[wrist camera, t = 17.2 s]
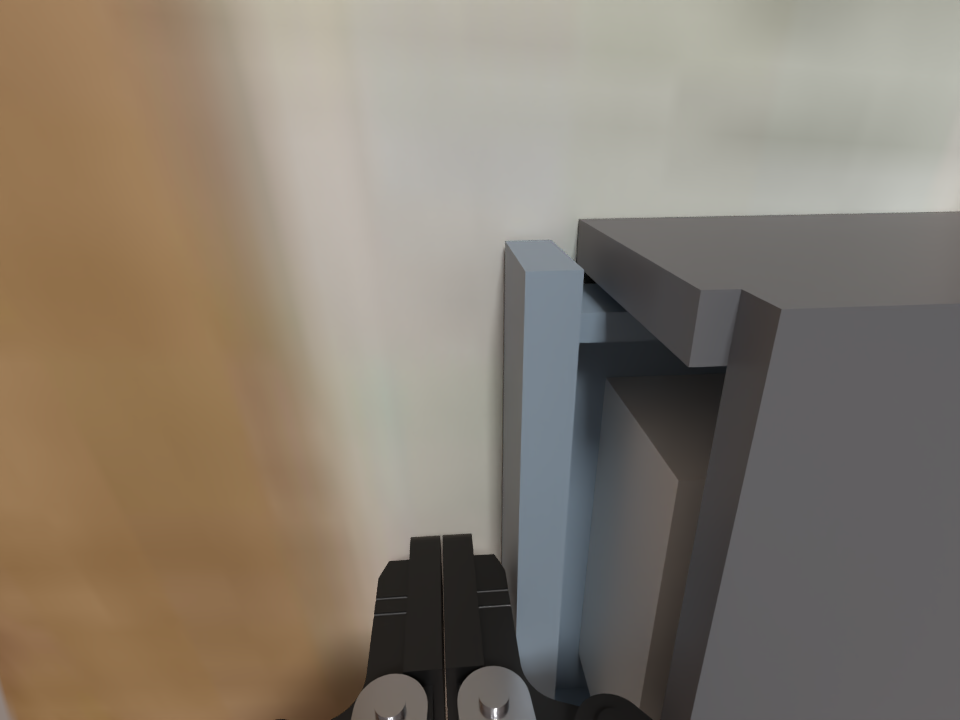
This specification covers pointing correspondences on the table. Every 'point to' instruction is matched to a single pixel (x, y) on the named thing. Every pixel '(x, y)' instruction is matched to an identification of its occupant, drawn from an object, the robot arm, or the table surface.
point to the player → (812, 456)
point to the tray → (558, 446)
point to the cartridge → (644, 529)
